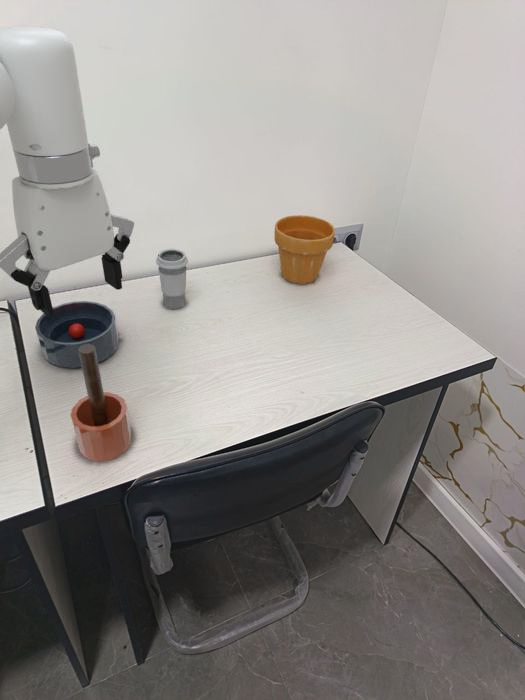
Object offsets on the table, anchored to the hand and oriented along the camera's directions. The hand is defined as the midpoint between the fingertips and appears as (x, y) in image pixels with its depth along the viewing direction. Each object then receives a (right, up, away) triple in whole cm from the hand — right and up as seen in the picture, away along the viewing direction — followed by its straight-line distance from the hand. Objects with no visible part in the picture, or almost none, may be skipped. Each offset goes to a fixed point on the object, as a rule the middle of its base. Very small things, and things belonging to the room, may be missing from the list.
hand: (81, 297), depth 64 cm
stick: (-1, -21, +14) cm, 25 cm away
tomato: (-13, -4, +34) cm, 37 cm away
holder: (-1, -21, +15) cm, 26 cm away
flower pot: (+33, +12, +60) cm, 70 cm away
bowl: (-12, -6, +33) cm, 36 cm away
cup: (+4, +4, +47) cm, 47 cm away
